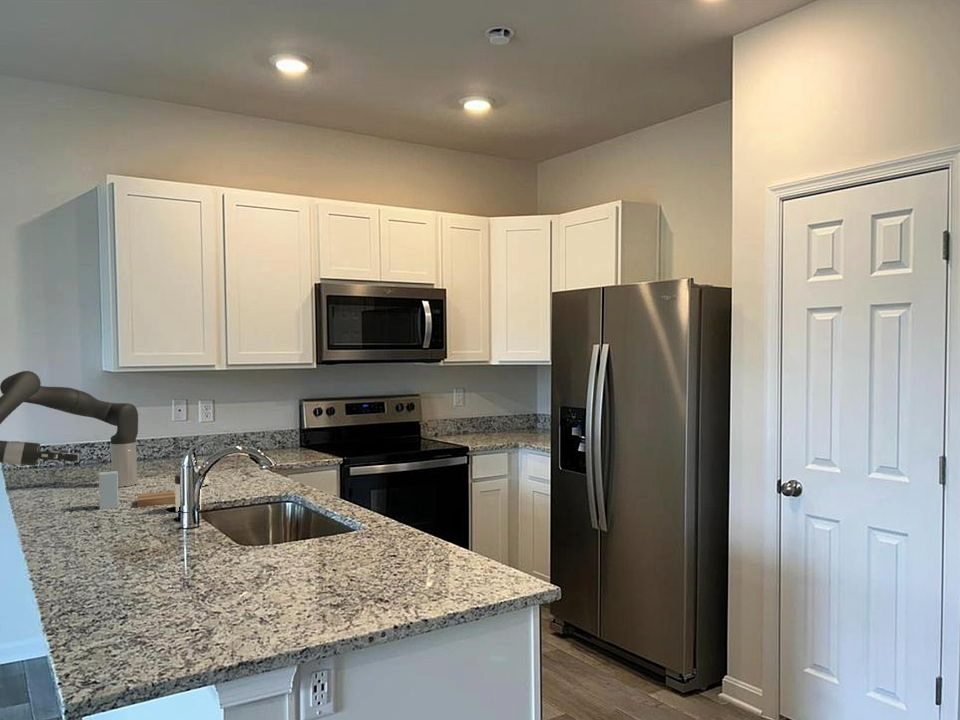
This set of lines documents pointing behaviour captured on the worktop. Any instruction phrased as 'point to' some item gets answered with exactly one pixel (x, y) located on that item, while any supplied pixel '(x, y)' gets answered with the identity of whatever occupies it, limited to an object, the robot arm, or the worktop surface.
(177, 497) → the jar
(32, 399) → the robot arm
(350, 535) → the worktop surface
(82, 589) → the worktop surface
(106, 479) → the pillar
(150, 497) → the slab
